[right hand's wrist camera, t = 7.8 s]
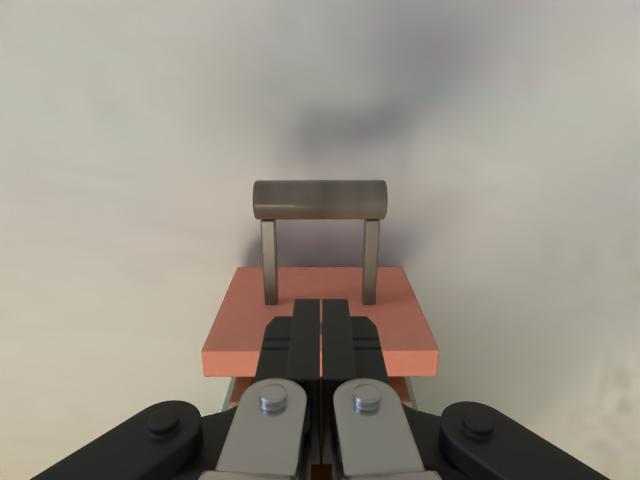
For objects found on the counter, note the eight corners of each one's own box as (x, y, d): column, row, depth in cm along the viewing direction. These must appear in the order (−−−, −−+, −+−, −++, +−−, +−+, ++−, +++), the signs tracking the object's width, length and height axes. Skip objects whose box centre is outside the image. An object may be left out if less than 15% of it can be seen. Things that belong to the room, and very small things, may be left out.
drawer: (229, 163, 22) (184, 206, 14) (410, 163, 22) (455, 206, 15) (249, 441, 28) (225, 570, 21) (390, 441, 28) (415, 569, 21)
